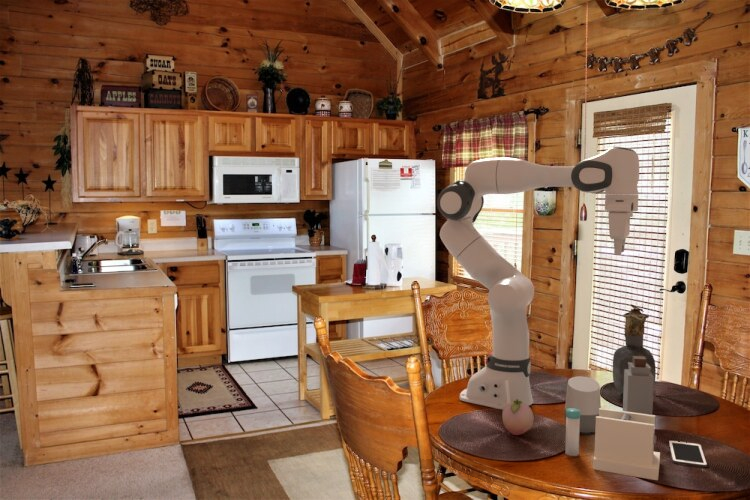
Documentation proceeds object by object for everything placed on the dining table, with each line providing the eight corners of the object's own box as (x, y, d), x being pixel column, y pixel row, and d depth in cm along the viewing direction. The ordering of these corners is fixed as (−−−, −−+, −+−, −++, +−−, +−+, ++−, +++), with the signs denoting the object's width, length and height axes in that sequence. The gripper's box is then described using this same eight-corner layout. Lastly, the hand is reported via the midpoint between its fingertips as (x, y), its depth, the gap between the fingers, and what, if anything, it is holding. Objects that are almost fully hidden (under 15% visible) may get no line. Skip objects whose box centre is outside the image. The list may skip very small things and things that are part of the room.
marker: (563, 454, 163) (565, 411, 162) (566, 449, 167) (567, 407, 166) (577, 457, 162) (579, 413, 161) (579, 452, 165) (581, 409, 164)
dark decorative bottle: (619, 406, 200) (623, 309, 197) (607, 388, 219) (610, 298, 216) (657, 408, 199) (661, 310, 196) (641, 389, 217) (645, 299, 215)
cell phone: (700, 447, 170) (700, 443, 170) (708, 469, 156) (708, 465, 156) (667, 443, 172) (668, 439, 172) (672, 464, 159) (672, 460, 158)
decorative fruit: (534, 443, 171) (535, 405, 170) (502, 441, 172) (502, 403, 171) (532, 430, 180) (533, 394, 179) (501, 428, 181) (502, 393, 180)
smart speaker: (568, 435, 176) (570, 384, 175) (560, 423, 185) (562, 375, 184) (604, 436, 176) (606, 385, 174) (594, 424, 185) (596, 375, 184)
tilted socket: (593, 469, 155) (595, 418, 154) (598, 452, 165) (600, 404, 164) (657, 480, 149) (660, 427, 148) (659, 462, 159) (661, 412, 158)
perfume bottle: (651, 423, 185) (654, 361, 184) (626, 422, 187) (629, 359, 185) (647, 415, 192) (649, 355, 190) (622, 414, 193) (625, 354, 192)
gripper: (613, 203, 197) (611, 250, 198) (605, 205, 178) (603, 256, 180) (635, 204, 194) (633, 250, 196) (630, 205, 176) (628, 257, 177)
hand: (619, 253), depth 187 cm, fingers open, 8 cm apart
